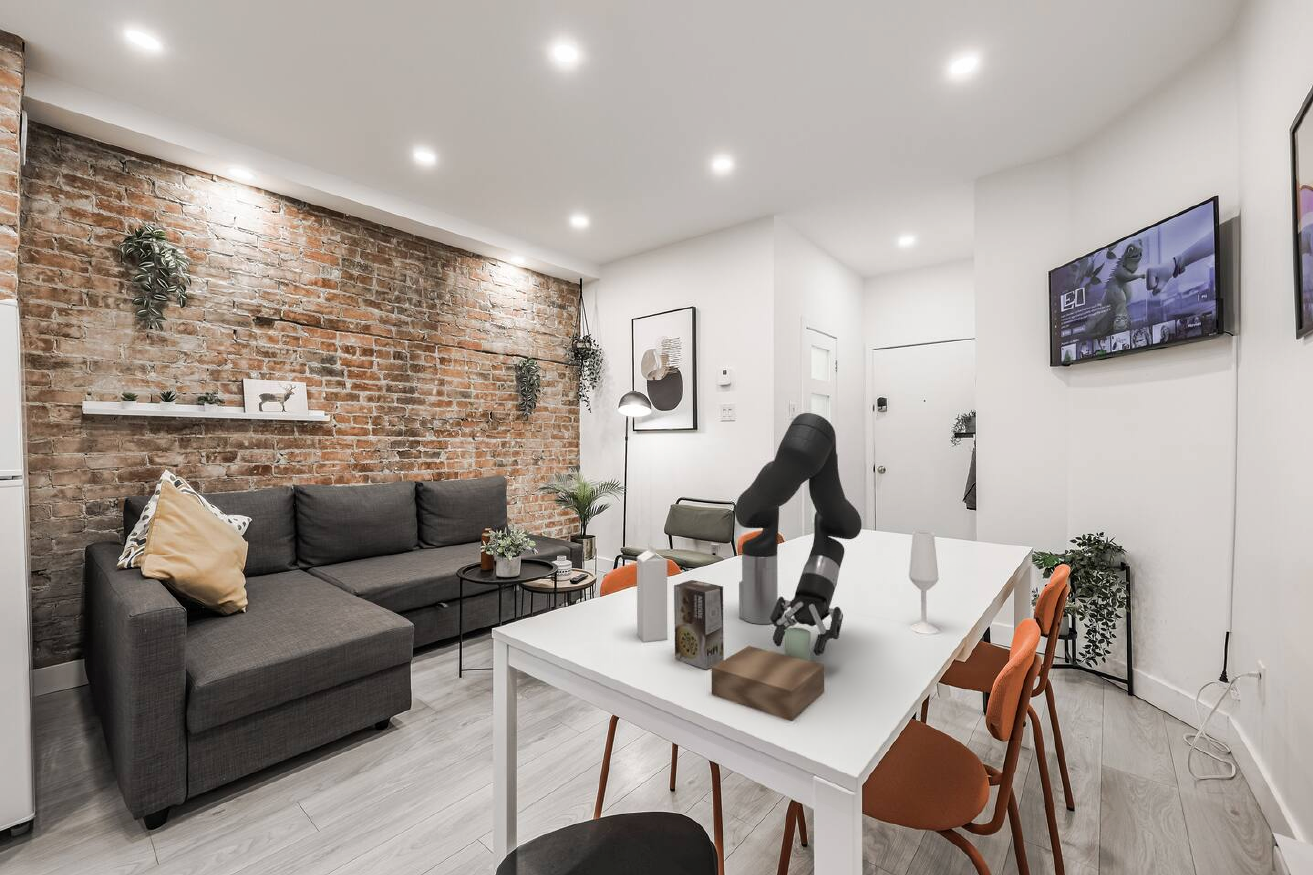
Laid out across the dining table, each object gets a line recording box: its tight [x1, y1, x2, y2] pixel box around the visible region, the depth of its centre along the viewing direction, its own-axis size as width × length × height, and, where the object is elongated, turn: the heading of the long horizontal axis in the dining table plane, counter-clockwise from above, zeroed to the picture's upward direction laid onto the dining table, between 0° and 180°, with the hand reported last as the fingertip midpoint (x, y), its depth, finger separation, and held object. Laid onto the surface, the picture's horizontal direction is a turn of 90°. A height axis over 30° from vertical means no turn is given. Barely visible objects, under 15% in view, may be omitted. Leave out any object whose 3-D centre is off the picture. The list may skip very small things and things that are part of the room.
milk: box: [636, 543, 668, 643], centre depth 135 cm, size 6×6×22 cm
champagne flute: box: [908, 530, 940, 635], centre depth 140 cm, size 7×7×24 cm
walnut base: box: [711, 645, 825, 722], centre depth 104 cm, size 16×14×5 cm
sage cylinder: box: [784, 627, 812, 662], centre depth 115 cm, size 5×5×8 cm
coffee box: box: [673, 579, 725, 670], centre depth 120 cm, size 9×6×16 cm
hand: (796, 649), depth 113 cm, fingers open, 8 cm apart
